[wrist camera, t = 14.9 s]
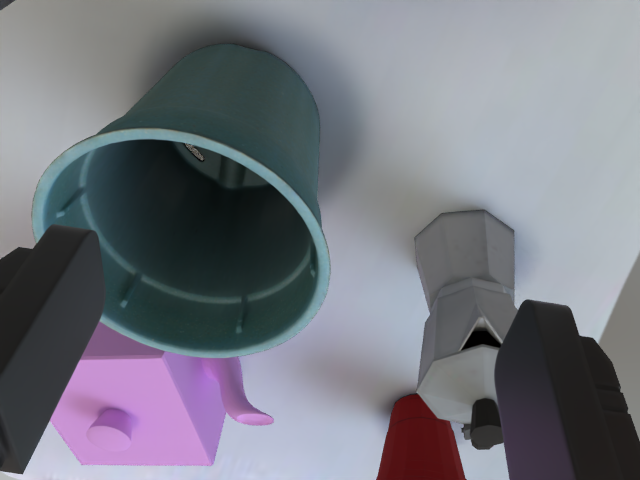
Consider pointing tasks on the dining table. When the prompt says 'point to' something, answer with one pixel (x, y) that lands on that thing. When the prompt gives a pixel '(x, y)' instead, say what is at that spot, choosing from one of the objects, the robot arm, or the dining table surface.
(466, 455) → the dining table surface
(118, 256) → the flower pot
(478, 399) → the coffee maker
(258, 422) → the teapot
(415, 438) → the plastic cup
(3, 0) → the bottle
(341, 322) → the dining table surface
